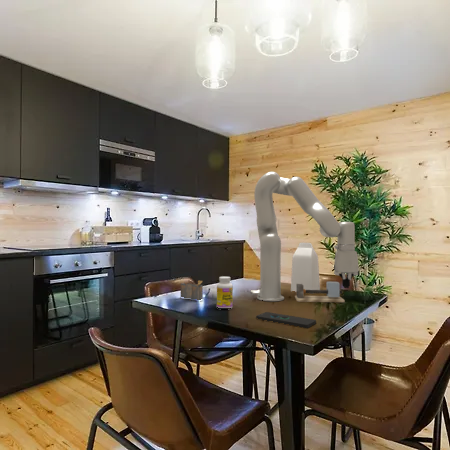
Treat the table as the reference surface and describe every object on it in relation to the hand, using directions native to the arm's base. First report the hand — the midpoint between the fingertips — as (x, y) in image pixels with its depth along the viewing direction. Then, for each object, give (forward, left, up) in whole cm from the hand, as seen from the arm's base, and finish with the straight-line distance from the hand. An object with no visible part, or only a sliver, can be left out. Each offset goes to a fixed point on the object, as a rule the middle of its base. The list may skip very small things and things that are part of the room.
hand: (346, 287), depth 156 cm
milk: (-15, +24, -6) cm, 29 cm away
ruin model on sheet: (-72, -5, -7) cm, 72 cm away
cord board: (-12, 0, -6) cm, 14 cm away
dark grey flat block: (-32, -39, -7) cm, 51 cm away
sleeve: (-6, 0, -4) cm, 7 cm away
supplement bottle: (-55, -21, -6) cm, 59 cm away
